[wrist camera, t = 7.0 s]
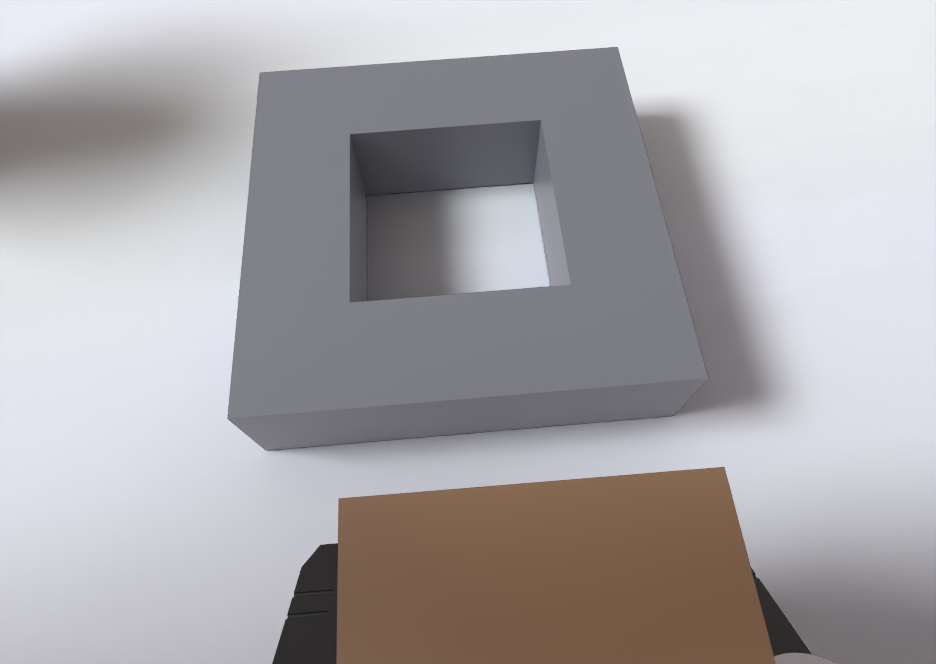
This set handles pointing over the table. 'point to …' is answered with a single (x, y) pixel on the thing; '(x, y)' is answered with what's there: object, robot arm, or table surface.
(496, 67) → the socket
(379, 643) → the peg
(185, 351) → the table surface
